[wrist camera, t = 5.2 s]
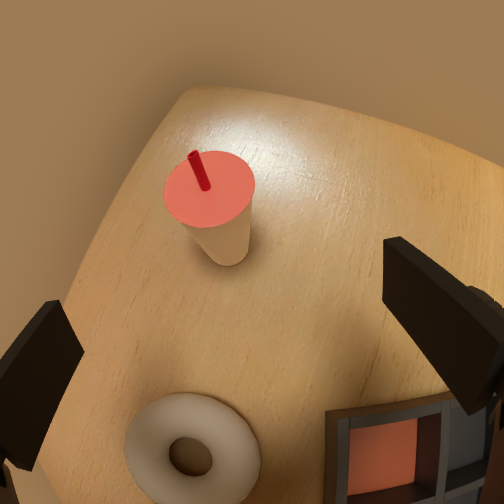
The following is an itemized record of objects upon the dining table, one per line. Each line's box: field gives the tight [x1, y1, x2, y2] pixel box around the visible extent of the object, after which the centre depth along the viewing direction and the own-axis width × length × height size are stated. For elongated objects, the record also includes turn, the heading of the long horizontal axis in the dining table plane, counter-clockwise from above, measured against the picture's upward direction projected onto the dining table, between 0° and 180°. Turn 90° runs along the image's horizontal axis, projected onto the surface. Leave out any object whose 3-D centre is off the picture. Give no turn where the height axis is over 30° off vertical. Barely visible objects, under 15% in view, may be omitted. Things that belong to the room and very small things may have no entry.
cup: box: [164, 150, 255, 266], centre depth 21 cm, size 5×5×12 cm
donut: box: [124, 393, 261, 504], centre depth 18 cm, size 10×4×10 cm
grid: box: [323, 391, 500, 504], centre depth 15 cm, size 15×15×5 cm
